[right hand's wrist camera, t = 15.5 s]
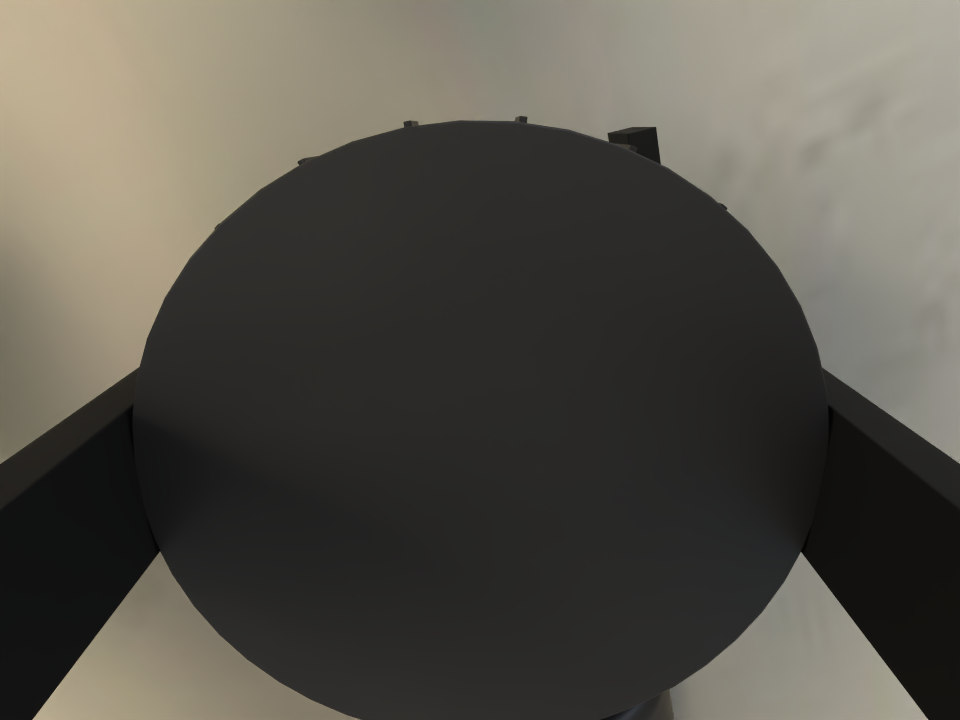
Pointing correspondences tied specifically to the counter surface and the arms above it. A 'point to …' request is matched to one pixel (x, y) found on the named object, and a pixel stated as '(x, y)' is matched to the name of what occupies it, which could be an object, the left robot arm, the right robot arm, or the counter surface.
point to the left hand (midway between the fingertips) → (446, 174)
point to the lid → (480, 426)
